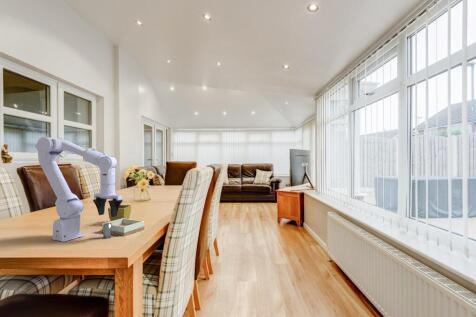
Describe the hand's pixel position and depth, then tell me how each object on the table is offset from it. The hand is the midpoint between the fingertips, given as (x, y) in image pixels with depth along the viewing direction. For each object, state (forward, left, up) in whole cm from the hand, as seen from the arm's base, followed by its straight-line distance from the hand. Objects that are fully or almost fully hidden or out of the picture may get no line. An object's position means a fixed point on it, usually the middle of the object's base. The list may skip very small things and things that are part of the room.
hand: (107, 215), depth 113 cm
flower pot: (+19, +15, -10) cm, 26 cm away
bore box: (+10, +2, -9) cm, 14 cm away
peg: (0, 0, -9) cm, 9 cm away
